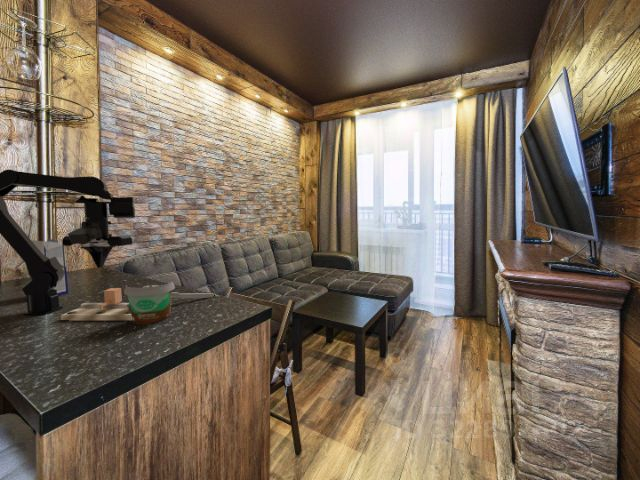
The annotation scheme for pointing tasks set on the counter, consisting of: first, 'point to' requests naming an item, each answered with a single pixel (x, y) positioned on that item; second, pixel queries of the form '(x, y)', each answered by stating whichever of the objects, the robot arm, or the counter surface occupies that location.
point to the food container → (150, 303)
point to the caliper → (191, 295)
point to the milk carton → (57, 250)
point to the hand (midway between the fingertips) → (99, 267)
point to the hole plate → (99, 312)
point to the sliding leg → (111, 297)
